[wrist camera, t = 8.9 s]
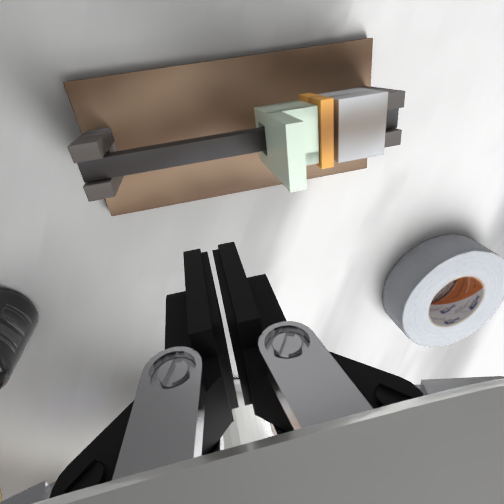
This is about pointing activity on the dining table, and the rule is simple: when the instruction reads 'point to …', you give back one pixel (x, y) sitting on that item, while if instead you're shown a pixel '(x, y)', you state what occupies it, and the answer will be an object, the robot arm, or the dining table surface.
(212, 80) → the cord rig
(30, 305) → the supplement bottle
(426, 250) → the tape roll
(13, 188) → the dining table surface
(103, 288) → the dining table surface
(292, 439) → the robot arm
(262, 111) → the mint green stepped block
